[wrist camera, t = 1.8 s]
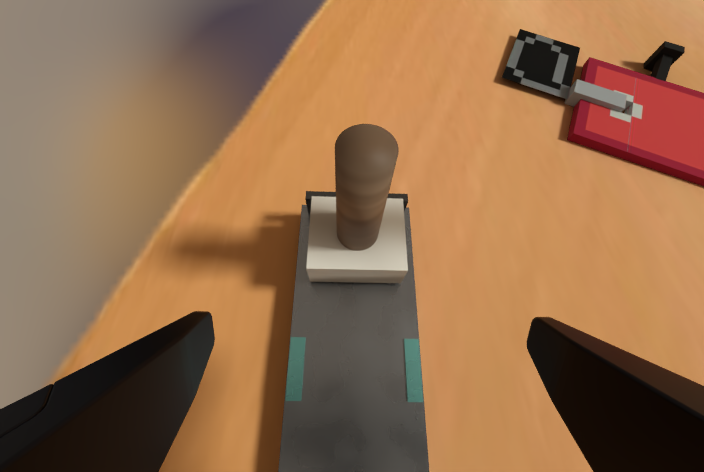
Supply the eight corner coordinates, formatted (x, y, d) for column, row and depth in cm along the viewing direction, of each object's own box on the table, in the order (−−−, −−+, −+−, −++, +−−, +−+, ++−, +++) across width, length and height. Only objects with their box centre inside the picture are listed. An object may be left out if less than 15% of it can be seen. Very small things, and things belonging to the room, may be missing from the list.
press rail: (425, 503, 18) (443, 527, 15) (279, 502, 18) (266, 527, 15) (405, 217, 26) (414, 193, 23) (304, 214, 25) (298, 189, 22)
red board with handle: (519, 27, 37) (486, 116, 31) (532, 1, 35) (499, 92, 29) (807, 117, 33) (830, 238, 27) (846, 95, 31) (881, 223, 25)
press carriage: (400, 283, 21) (446, 202, 12) (309, 281, 21) (287, 197, 12) (396, 217, 24) (433, 105, 14) (314, 215, 23) (298, 101, 14)
